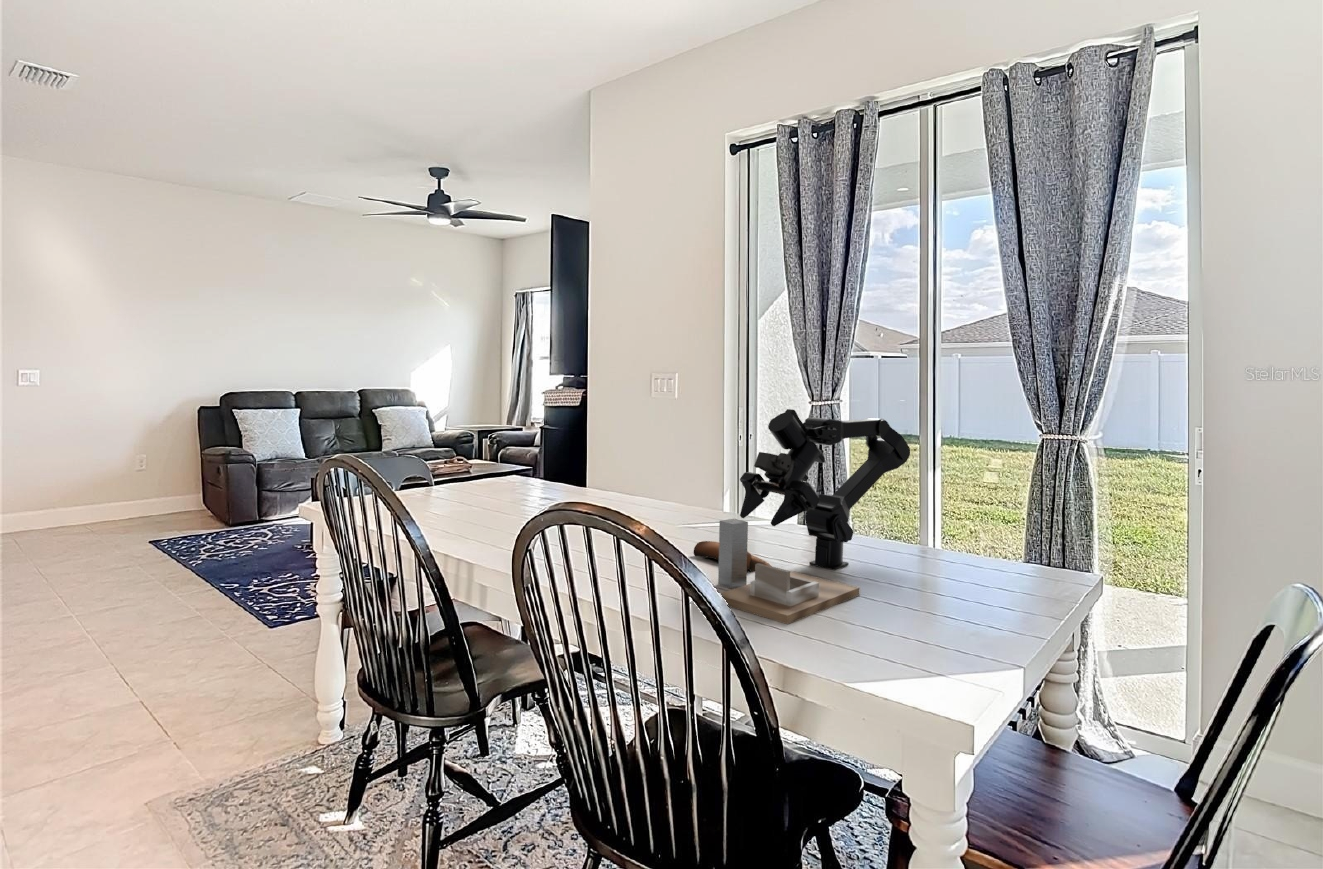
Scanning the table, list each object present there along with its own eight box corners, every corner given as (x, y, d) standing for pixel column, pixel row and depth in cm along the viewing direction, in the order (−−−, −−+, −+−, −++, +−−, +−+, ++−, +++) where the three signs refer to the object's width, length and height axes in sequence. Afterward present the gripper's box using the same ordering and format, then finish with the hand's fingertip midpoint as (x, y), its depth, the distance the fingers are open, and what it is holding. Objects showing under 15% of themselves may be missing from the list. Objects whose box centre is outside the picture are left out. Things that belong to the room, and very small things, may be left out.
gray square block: (733, 581, 147) (734, 518, 146) (746, 585, 144) (747, 521, 143) (718, 584, 145) (719, 520, 144) (731, 589, 142) (732, 524, 141)
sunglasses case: (775, 565, 159) (766, 542, 157) (757, 586, 156) (747, 563, 153) (718, 550, 173) (708, 528, 170) (699, 569, 169) (689, 547, 167)
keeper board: (790, 577, 150) (791, 542, 150) (859, 595, 139) (860, 557, 138) (715, 602, 133) (716, 562, 133) (787, 624, 122) (788, 580, 121)
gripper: (747, 435, 156) (706, 489, 151) (811, 442, 141) (768, 502, 136) (772, 468, 162) (734, 522, 156) (837, 479, 146) (796, 538, 141)
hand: (756, 520), depth 147 cm, fingers open, 9 cm apart
